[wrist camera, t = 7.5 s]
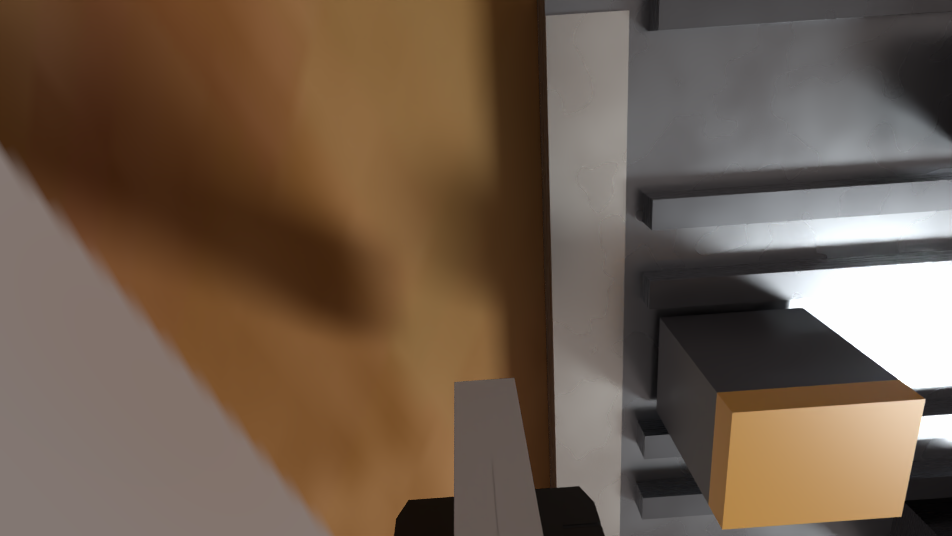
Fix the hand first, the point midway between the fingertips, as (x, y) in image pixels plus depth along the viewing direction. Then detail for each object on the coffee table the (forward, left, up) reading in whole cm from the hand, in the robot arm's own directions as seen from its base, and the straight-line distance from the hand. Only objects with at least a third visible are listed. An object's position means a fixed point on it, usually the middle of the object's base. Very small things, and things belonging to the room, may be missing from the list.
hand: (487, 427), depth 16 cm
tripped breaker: (0, +7, -2) cm, 7 cm away
